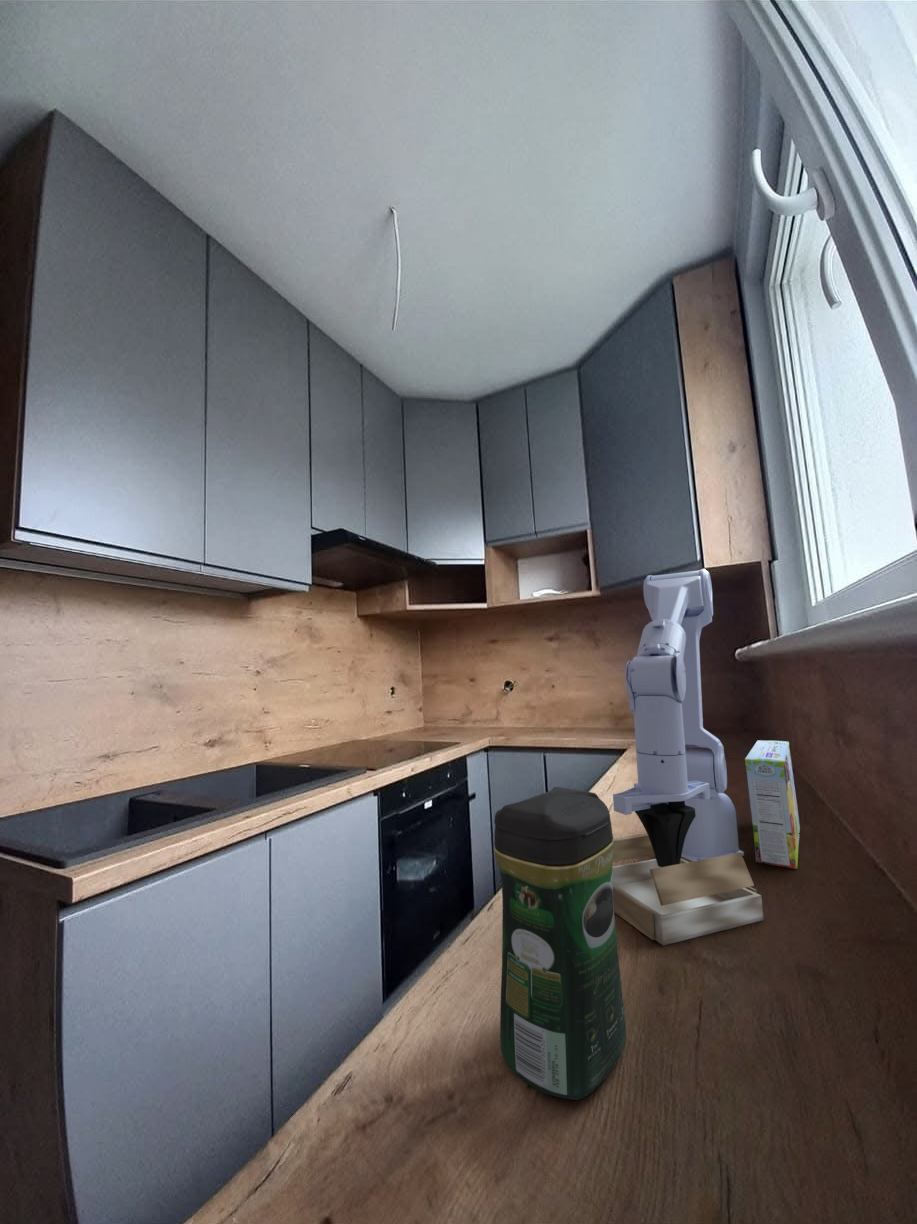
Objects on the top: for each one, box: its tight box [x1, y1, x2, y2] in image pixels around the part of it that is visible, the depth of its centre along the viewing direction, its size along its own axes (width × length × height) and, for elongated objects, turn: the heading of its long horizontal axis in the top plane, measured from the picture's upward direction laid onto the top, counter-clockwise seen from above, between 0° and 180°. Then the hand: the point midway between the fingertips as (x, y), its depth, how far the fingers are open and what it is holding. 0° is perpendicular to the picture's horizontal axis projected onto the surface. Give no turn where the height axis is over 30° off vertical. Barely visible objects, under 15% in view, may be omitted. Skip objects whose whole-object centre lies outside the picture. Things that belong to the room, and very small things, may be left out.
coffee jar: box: [493, 786, 627, 1101], centre depth 37 cm, size 10×8×19 cm
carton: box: [612, 856, 764, 946], centre depth 58 cm, size 15×13×3 cm
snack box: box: [744, 739, 801, 870], centre depth 78 cm, size 21×6×15 cm, turn 144°
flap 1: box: [613, 832, 655, 863], centre depth 64 cm, size 13×1×3 cm, turn 109°
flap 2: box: [650, 853, 755, 906], centre depth 54 cm, size 13×1×3 cm, turn 109°
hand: (668, 867), depth 59 cm, fingers closed
